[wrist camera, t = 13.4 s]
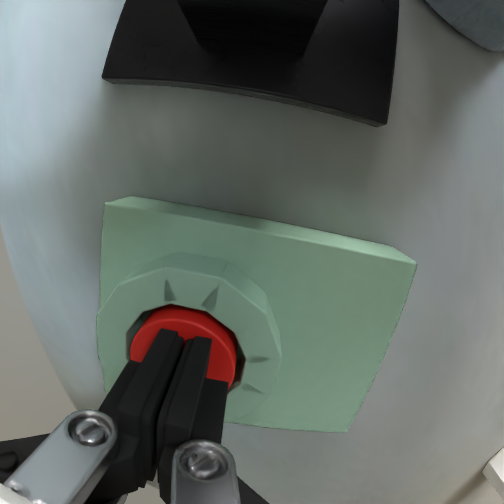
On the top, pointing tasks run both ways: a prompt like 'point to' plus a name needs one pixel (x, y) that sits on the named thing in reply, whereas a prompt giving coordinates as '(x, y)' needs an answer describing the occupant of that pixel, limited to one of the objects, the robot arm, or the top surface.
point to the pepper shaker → (496, 472)
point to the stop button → (190, 337)
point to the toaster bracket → (264, 51)
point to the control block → (257, 304)
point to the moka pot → (475, 20)
